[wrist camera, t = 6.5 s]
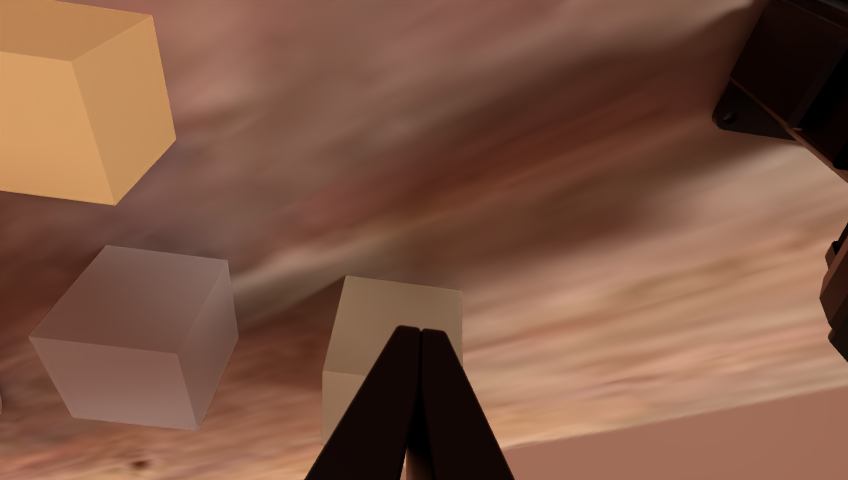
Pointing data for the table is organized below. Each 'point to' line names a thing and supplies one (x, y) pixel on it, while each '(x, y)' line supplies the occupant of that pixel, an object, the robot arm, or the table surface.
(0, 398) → the ramekin
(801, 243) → the table surface
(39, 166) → the mustard block
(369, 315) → the tan cube
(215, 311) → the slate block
